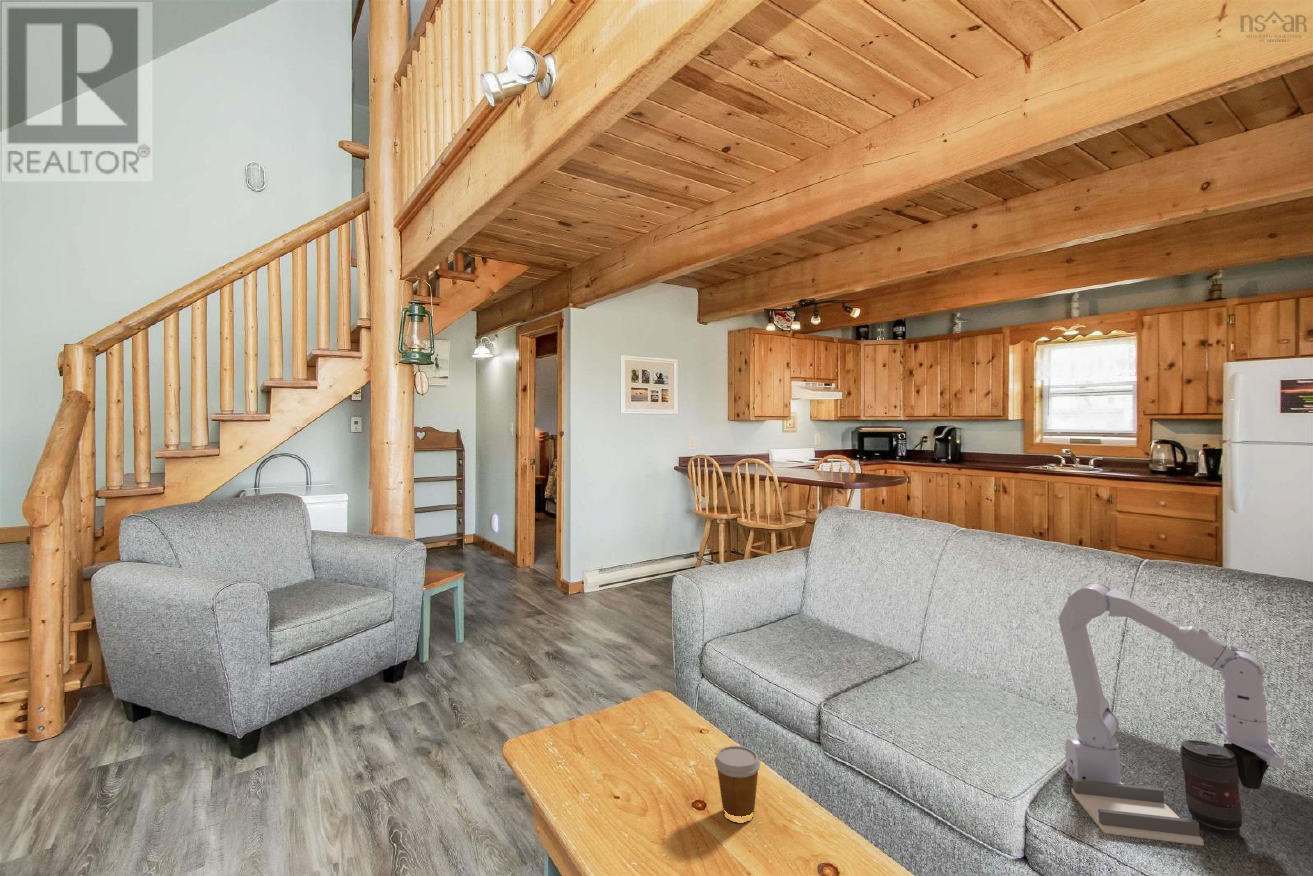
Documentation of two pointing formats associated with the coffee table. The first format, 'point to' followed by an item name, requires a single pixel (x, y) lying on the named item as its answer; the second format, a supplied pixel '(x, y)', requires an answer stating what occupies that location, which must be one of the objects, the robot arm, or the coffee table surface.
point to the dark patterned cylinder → (1212, 787)
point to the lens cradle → (1134, 812)
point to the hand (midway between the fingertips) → (1250, 787)
